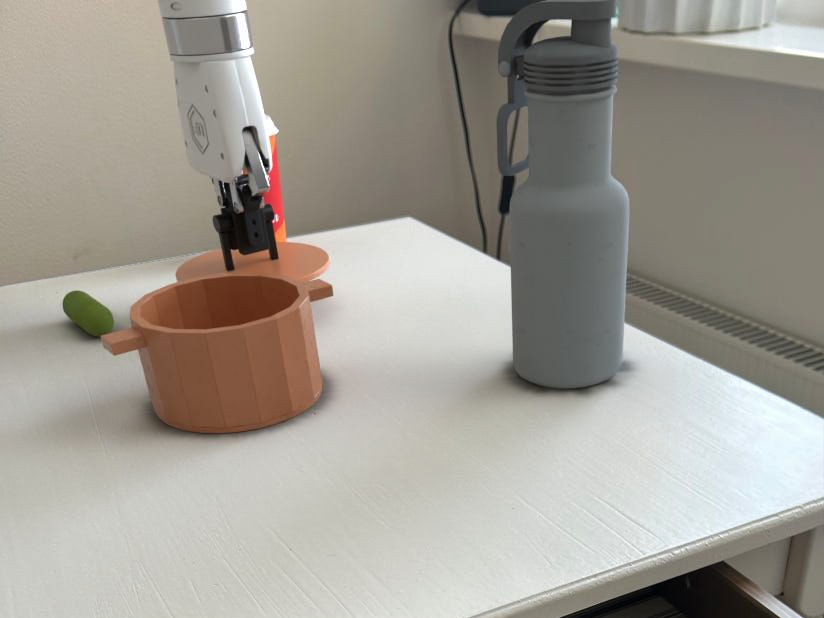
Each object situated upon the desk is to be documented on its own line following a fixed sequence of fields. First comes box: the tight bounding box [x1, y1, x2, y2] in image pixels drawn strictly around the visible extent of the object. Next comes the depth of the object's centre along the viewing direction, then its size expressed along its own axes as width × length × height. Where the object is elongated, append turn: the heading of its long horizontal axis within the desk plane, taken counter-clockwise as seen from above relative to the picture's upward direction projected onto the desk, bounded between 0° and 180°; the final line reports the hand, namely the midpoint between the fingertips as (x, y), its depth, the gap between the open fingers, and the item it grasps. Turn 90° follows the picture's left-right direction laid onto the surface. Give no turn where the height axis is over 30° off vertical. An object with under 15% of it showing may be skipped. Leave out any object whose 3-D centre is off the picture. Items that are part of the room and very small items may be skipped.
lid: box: [175, 203, 331, 283], centre depth 99 cm, size 16×16×6 cm
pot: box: [100, 273, 334, 434], centre depth 84 cm, size 15×20×8 cm
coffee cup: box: [242, 114, 287, 242], centre depth 115 cm, size 8×8×15 cm
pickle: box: [62, 289, 115, 337], centre depth 101 cm, size 9×3×3 cm, turn 37°
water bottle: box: [495, 0, 631, 390], centre depth 79 cm, size 10×10×28 cm
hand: (249, 248), depth 99 cm, fingers closed on lid
